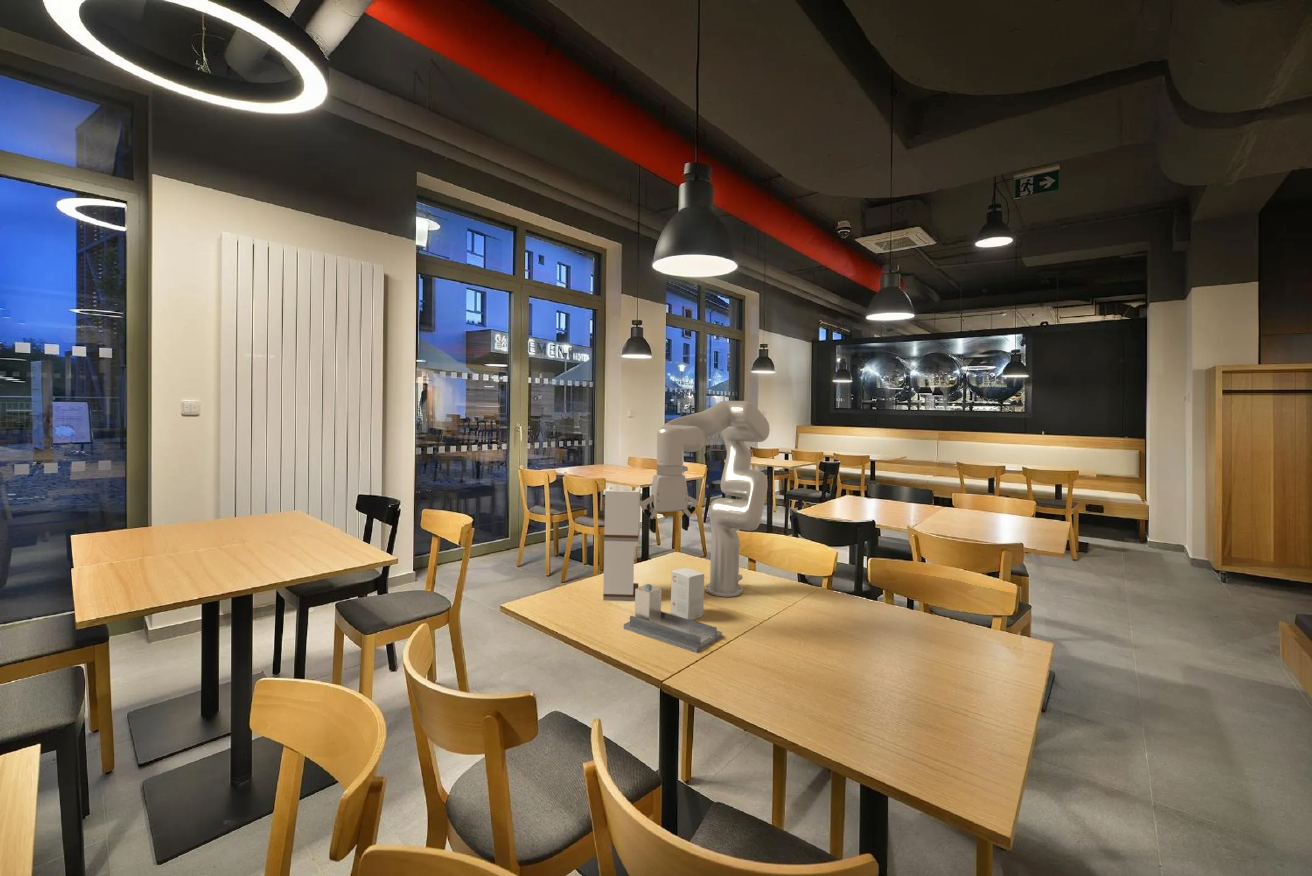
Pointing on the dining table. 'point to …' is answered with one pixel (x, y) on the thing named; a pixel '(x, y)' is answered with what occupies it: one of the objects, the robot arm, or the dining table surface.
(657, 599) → the rail board
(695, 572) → the small box
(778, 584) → the dining table surface
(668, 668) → the dining table surface
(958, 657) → the dining table surface
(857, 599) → the dining table surface
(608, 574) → the tall banded cabinet
